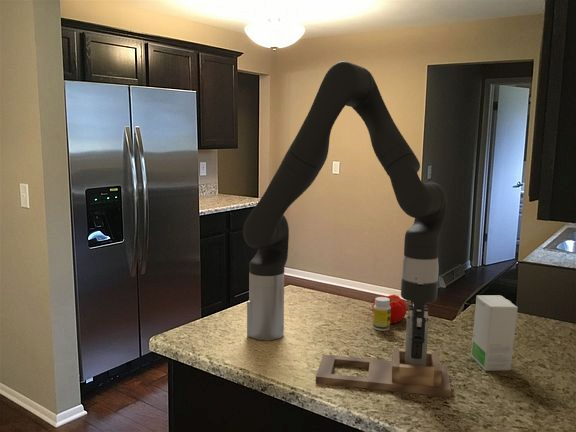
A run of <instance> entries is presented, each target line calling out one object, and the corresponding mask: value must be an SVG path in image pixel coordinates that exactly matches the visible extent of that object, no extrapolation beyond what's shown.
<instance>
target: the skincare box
mask: <svg viewBox="0 0 576 432" xmlns="http://www.w3.org/2000/svg"><path fill="white" fill-rule="evenodd" d="M518 309H519V307H518V306H517V305H515V304H514V303H512V301H511V300H509V299H506V298H505V297H504V296H502V295H498V294H497V295H491V294H490V295H487V294H486V295H476V298H475V309H474V310H475V311H474V319H473V321H474V322H473V330H472V340H471V351H470V356H471V358H472V359H473V360H474V361H475V362H476V363H477V364H478V366H480V367H481V368H482V369H483V370H484V371H485V372H492V371H494V372H496V371H497V372H498V371H511V369H512V362H513V360H512V359H513V352H514V351H513V350H514V343H515V342H514V341H515V335H516V334H515V333H516V326H517V317H518Z"/></svg>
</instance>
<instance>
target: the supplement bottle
mask: <svg viewBox="0 0 576 432" xmlns="http://www.w3.org/2000/svg"><path fill="white" fill-rule="evenodd" d="M386 297H387V296H384V297H379V296H377V297H375V299H374V301H375V305H374V312H373V311H372V316H373V319H372V328H373V329H374V330H375V331H376V330H377V331H380V332H381V331H382V332H383V331H385V332H386V331H389V330H390V329H391V323H390V317H391V307H390V299H389V298H386Z"/></svg>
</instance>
